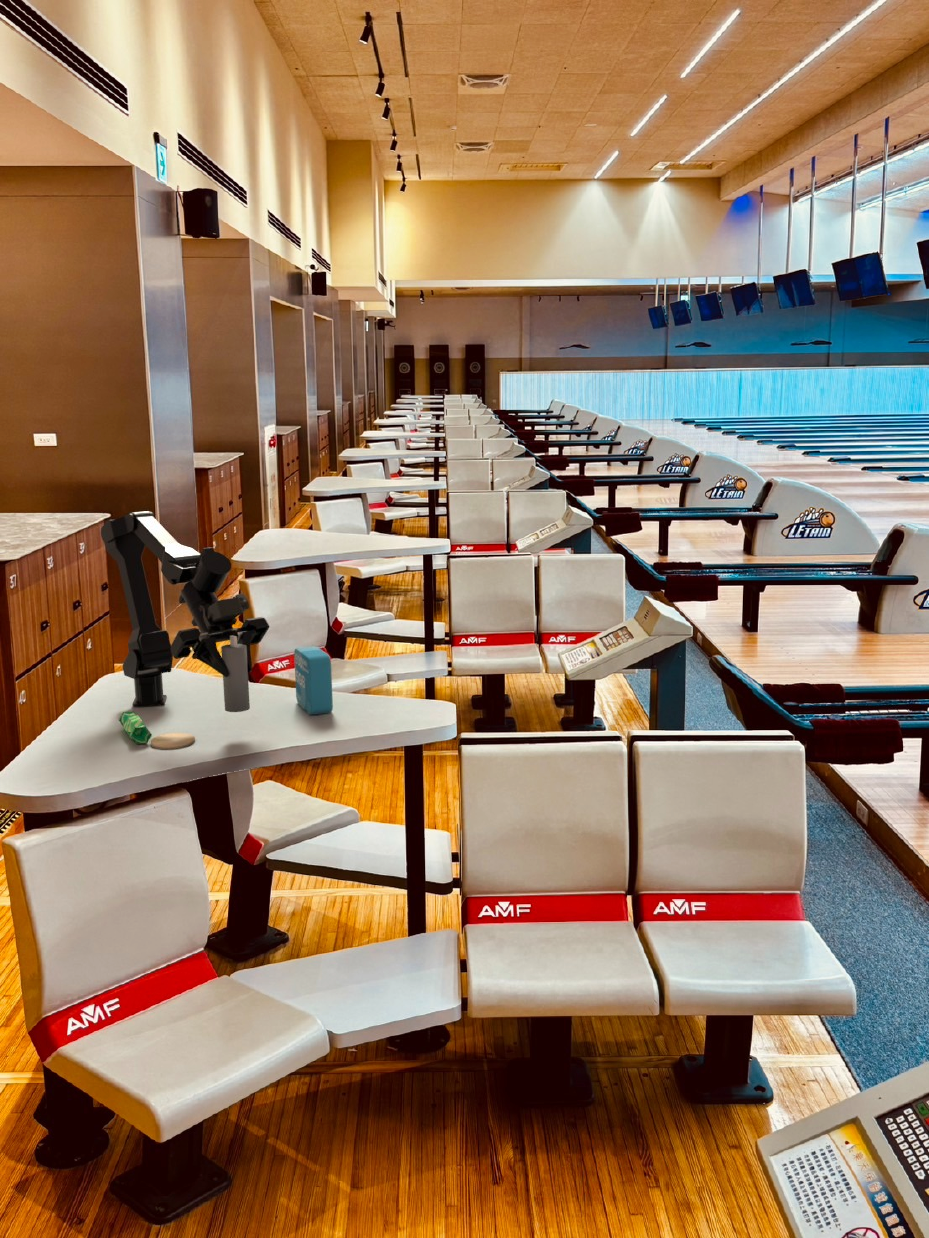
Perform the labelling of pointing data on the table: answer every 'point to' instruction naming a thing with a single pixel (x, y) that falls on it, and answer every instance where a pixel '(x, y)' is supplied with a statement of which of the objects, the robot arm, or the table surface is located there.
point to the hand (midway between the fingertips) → (239, 673)
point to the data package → (313, 680)
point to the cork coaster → (172, 740)
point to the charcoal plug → (235, 676)
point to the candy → (135, 727)
